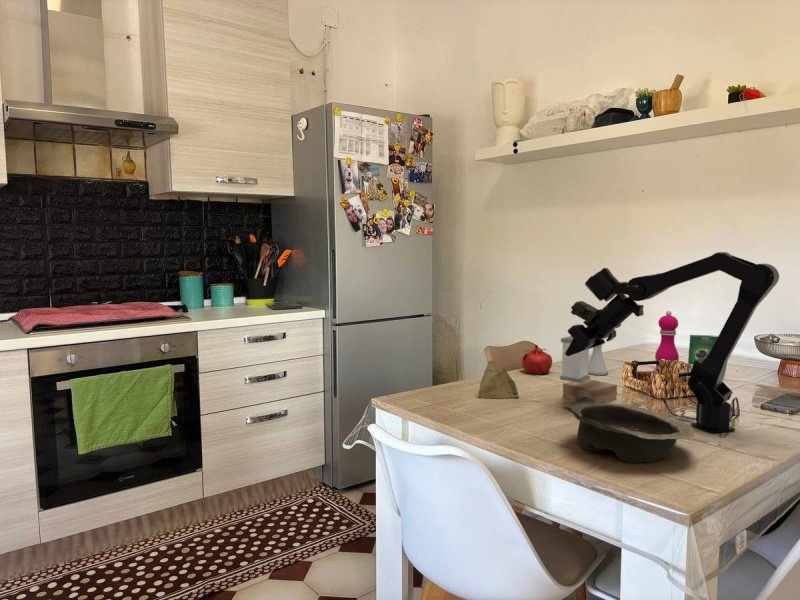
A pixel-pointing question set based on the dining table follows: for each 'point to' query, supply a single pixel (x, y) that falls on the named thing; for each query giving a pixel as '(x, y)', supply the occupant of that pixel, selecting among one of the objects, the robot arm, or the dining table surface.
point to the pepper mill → (667, 338)
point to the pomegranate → (536, 361)
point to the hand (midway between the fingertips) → (570, 353)
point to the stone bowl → (627, 430)
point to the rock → (497, 383)
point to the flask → (597, 362)
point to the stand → (590, 391)
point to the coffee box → (700, 346)
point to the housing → (574, 364)
